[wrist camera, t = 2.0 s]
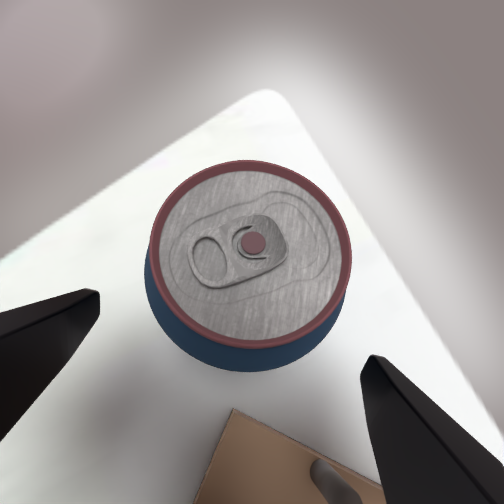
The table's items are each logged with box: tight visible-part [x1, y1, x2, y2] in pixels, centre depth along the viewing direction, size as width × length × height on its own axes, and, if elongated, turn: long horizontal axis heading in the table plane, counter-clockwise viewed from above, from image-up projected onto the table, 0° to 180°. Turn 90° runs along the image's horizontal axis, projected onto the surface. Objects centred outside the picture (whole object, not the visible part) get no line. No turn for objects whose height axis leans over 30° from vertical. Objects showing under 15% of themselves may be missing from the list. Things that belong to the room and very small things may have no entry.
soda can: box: [144, 160, 352, 372], centre depth 13 cm, size 7×7×12 cm
